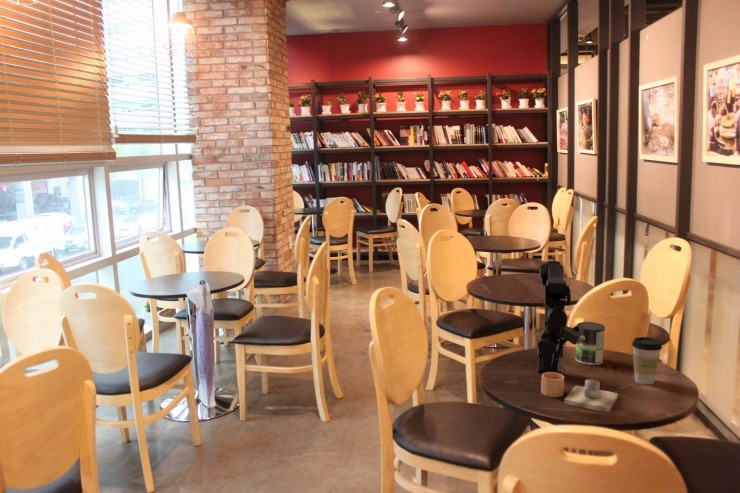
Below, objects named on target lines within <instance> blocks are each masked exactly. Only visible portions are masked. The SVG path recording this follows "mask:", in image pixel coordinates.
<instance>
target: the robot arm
mask: <svg viewBox="0 0 740 493" xmlns="http://www.w3.org/2000/svg"><path fill="white" fill-rule="evenodd" d="M564 268H565V266H563V265H562V264H561V261H558V260H547V261H545V263H543V264H541V265H540V266H539V270H538V271H539V274H538V277H539V279H540V283H541V285H542V287H543V289H544V290H543V291H544V292H543V293H544V296H543V297H544V329H543V331H542V333H541V334H540V337H539V340H538V341H537V344H536V345H537V347H536V349H537V353H536V354H537V357H538V358H539V361H538V362H539V364H538V365H539V367H538V370H537V373H538V374H539V373H540V374H543V373H546V372H555V373H559V372H560V368H561V367H560V365H561V360H560V359H562V357H564V348H565V346H564V344H566V343H567V342H570V344H572V345H576V344H577V342H578V341H579V339H580V337H581V336H582V332H581V331H580V327H579V326H577V324H576V325H575V326H573V327H572V326H568V325H567V322H568V316H567V312H566V308H565V307H566V306H570V303H571V301H572V296H571V293H572V292H571V289H570V286H569V285H567V281H566V280H565V279H564V277H565V271H564V270H565V269H564Z"/></svg>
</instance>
